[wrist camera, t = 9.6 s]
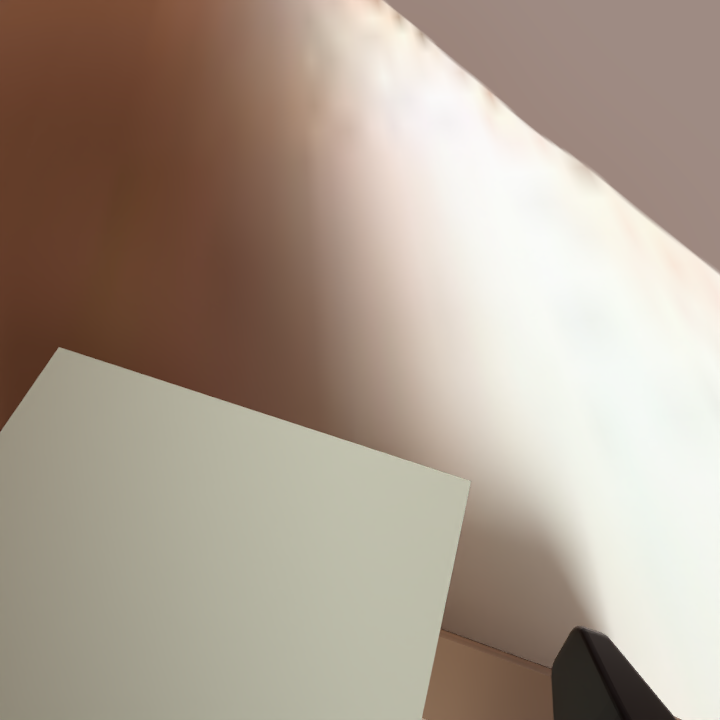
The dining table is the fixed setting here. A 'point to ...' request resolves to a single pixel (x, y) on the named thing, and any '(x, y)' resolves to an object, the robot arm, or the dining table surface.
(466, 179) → the dining table surface
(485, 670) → the walnut slotted plate
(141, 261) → the dining table surface
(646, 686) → the robot arm
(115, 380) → the sage plank
